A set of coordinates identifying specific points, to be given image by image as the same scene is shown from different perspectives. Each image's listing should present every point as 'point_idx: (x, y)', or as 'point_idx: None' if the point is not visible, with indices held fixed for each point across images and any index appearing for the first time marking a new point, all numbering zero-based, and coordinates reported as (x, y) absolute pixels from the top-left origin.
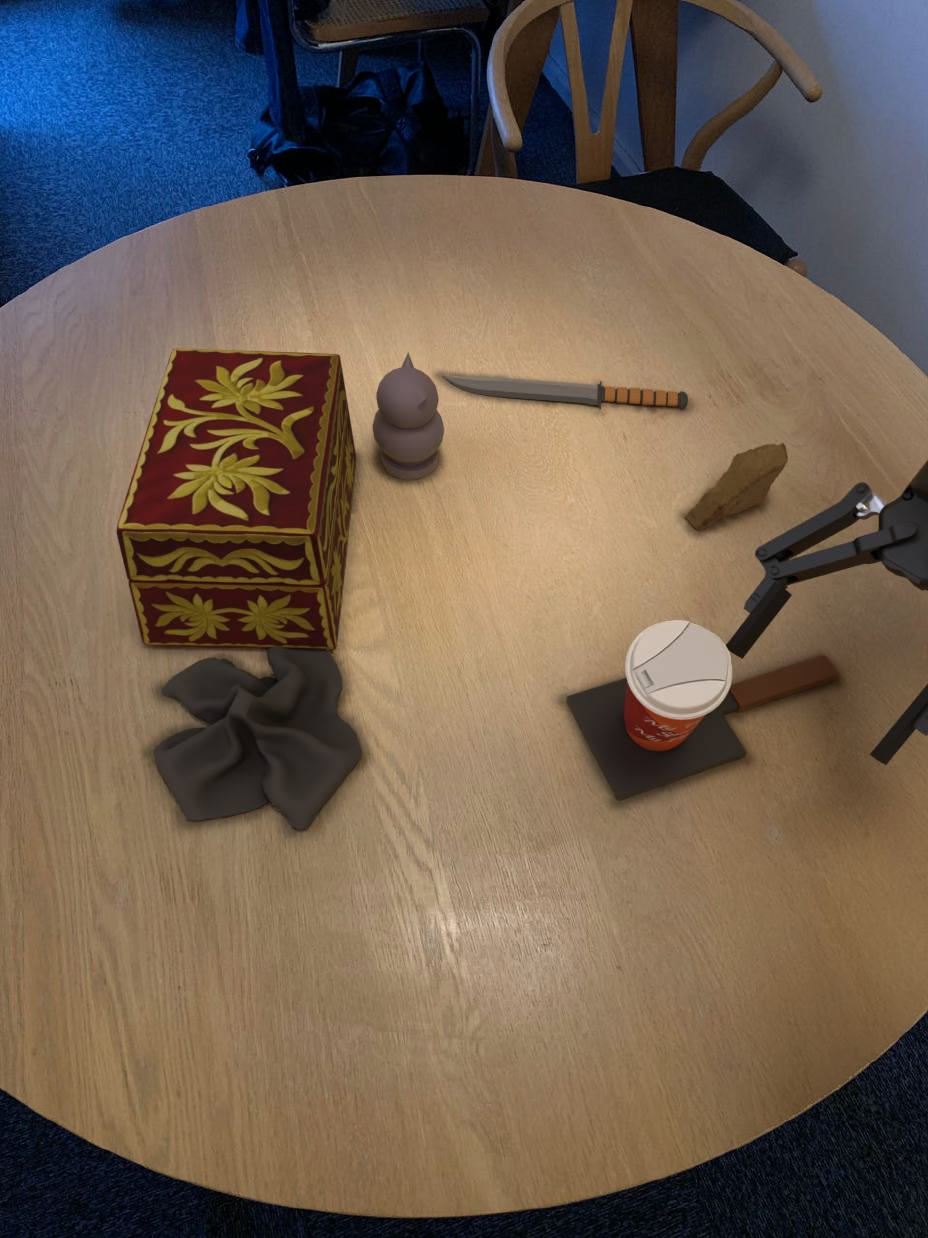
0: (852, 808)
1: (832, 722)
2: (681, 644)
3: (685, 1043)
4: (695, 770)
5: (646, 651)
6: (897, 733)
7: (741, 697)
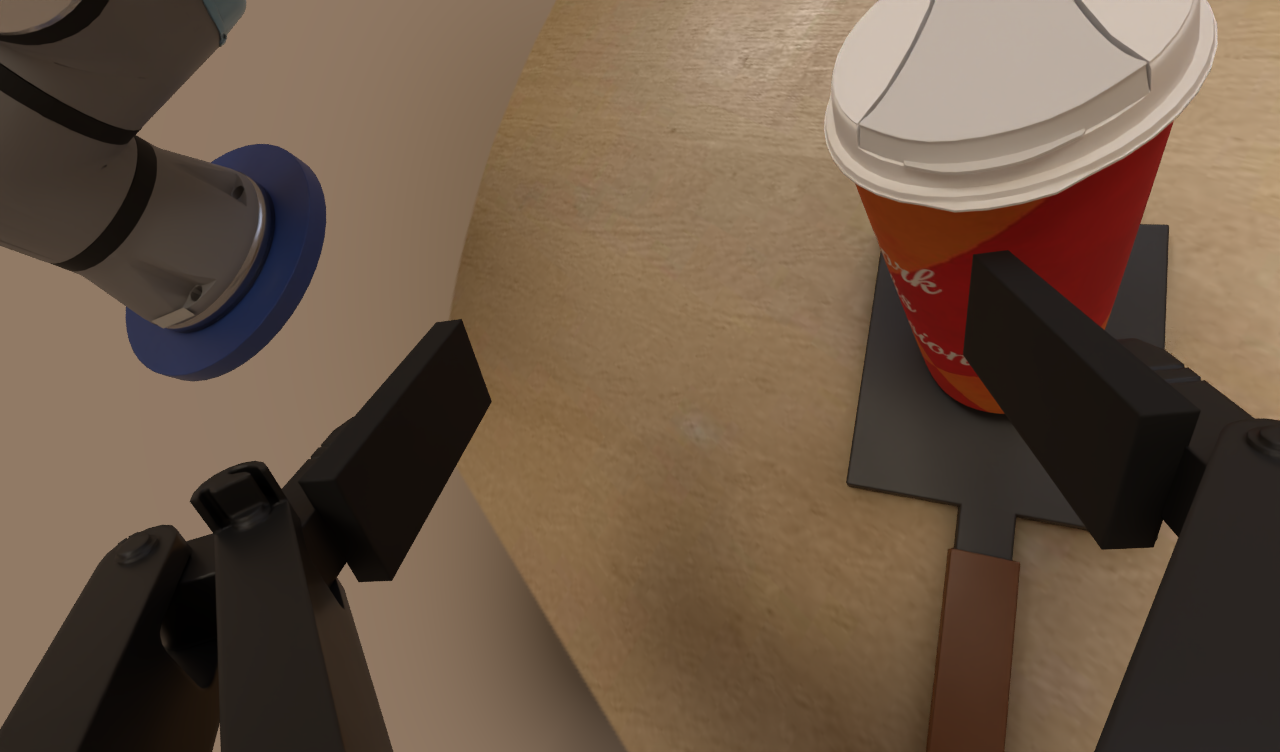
0: (659, 587)
1: (821, 723)
2: (1059, 31)
3: (568, 165)
4: (863, 368)
5: None
6: (405, 365)
7: (973, 568)
